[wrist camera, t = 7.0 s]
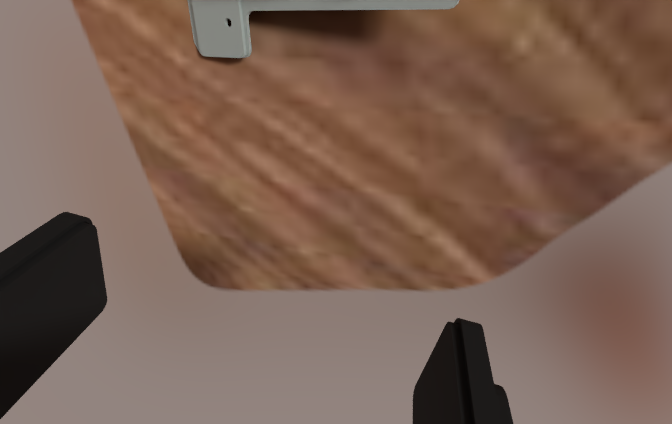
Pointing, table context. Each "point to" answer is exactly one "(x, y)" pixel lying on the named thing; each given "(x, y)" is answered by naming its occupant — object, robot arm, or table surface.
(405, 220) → the table surface
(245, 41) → the metal bracket
